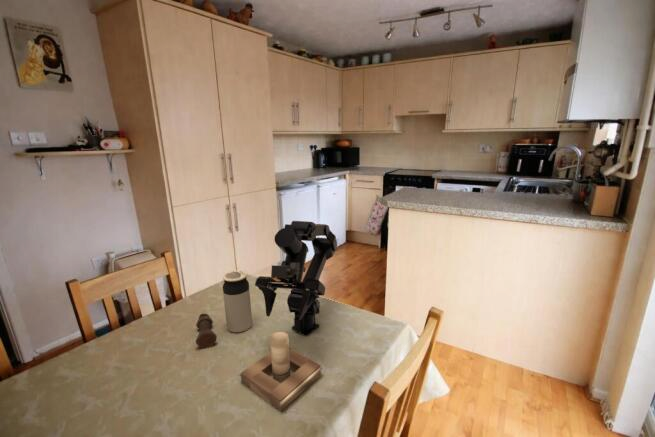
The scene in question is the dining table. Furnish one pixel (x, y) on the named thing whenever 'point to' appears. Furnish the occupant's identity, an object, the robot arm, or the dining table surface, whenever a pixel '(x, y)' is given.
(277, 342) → the peg
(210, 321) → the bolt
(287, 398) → the socket board
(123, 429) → the dining table surface
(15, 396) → the dining table surface
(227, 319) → the travel mug
